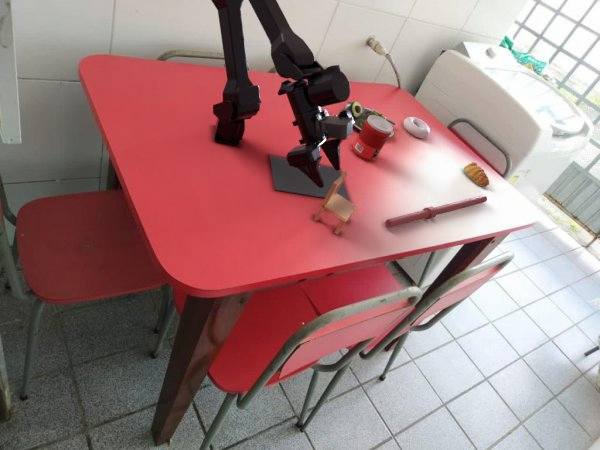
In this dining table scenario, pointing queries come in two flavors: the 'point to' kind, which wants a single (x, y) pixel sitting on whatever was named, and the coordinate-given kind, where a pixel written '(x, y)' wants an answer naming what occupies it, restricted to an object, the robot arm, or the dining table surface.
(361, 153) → the canned food
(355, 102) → the salad plate
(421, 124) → the donut
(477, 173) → the pastry
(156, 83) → the dining table surface
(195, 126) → the dining table surface
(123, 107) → the dining table surface
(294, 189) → the mat
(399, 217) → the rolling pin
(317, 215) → the toy chair
